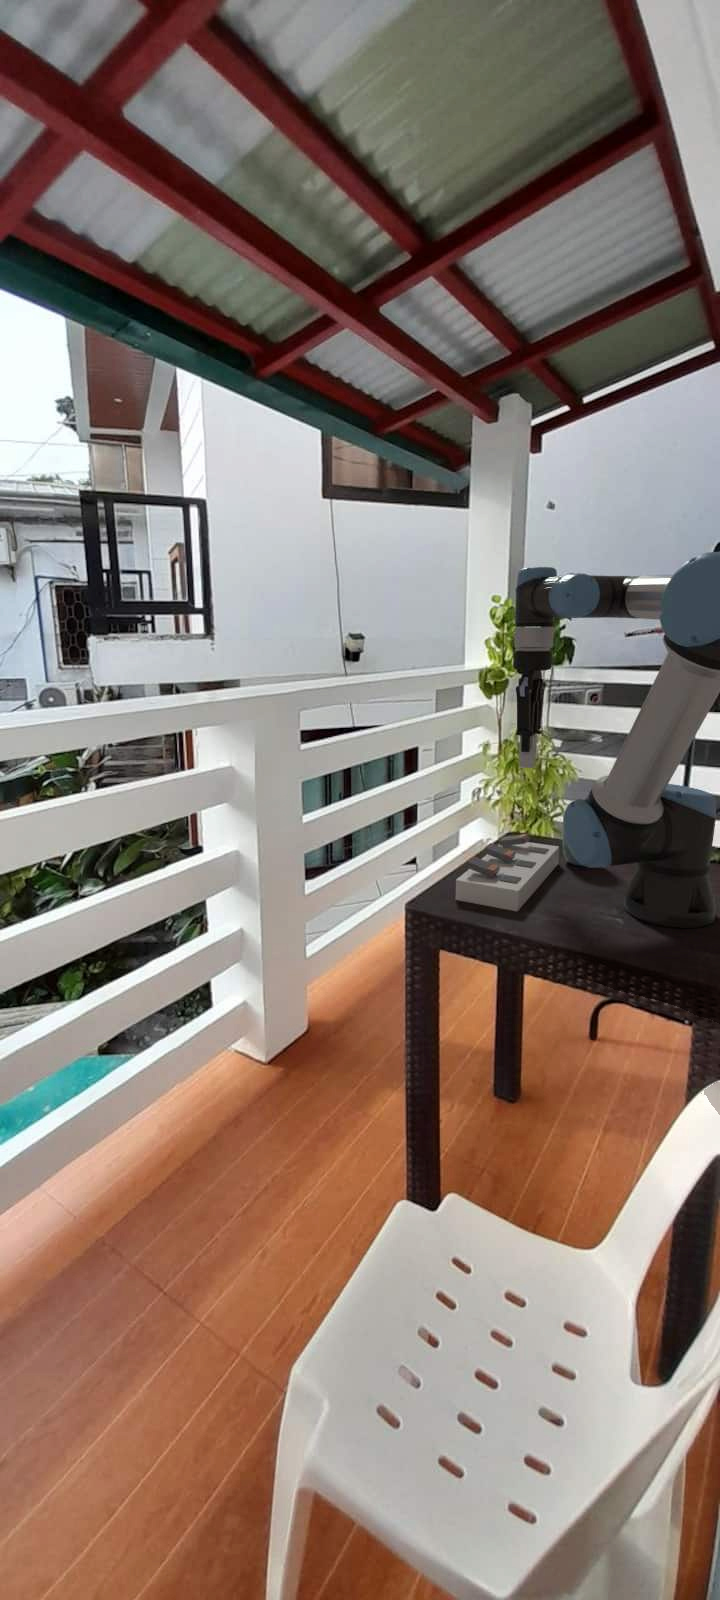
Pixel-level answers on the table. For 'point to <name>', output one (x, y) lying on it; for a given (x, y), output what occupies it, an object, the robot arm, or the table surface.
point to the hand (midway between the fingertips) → (527, 766)
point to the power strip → (509, 877)
